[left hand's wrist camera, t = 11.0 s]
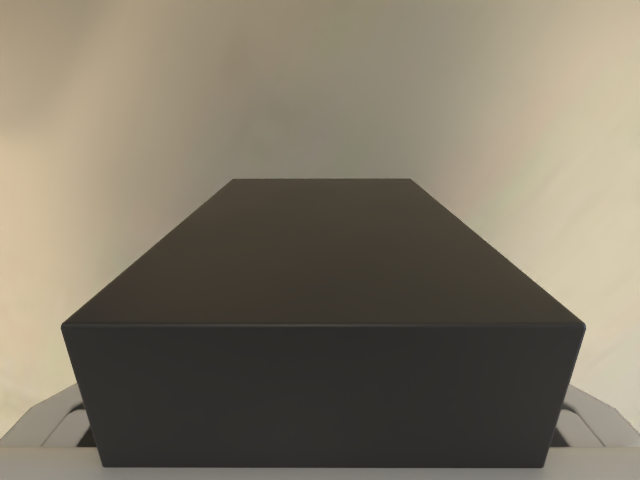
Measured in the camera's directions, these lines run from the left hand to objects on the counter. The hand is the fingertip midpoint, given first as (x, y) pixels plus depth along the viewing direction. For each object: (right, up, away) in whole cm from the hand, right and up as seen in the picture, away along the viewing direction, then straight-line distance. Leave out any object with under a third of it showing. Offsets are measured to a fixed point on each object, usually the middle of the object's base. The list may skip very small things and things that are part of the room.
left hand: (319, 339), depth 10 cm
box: (0, -6, +6) cm, 8 cm away
